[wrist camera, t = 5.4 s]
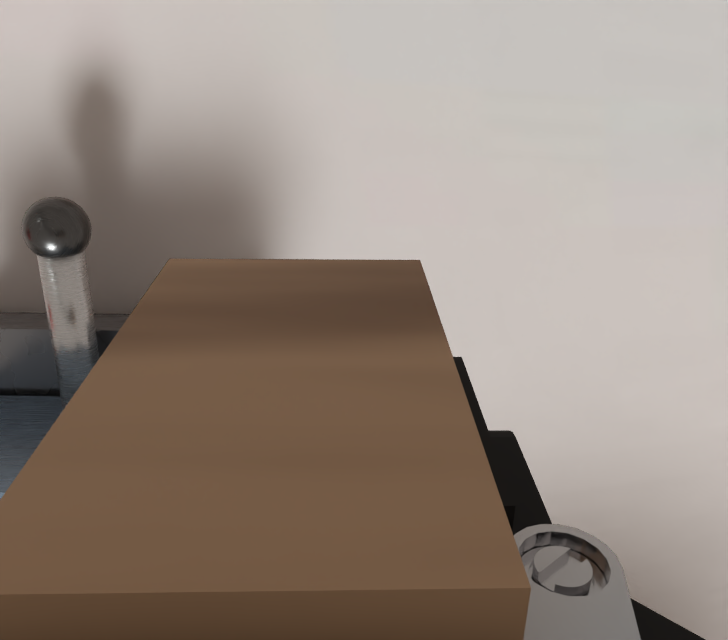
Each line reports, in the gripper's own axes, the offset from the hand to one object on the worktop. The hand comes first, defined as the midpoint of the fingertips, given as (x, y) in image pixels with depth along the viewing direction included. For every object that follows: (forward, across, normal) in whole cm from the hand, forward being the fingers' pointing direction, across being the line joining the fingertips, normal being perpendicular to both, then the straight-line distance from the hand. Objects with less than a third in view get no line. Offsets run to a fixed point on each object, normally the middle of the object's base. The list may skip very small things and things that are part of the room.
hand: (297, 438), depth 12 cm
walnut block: (+1, 0, 0) cm, 1 cm away
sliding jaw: (+12, +8, +4) cm, 15 cm away
